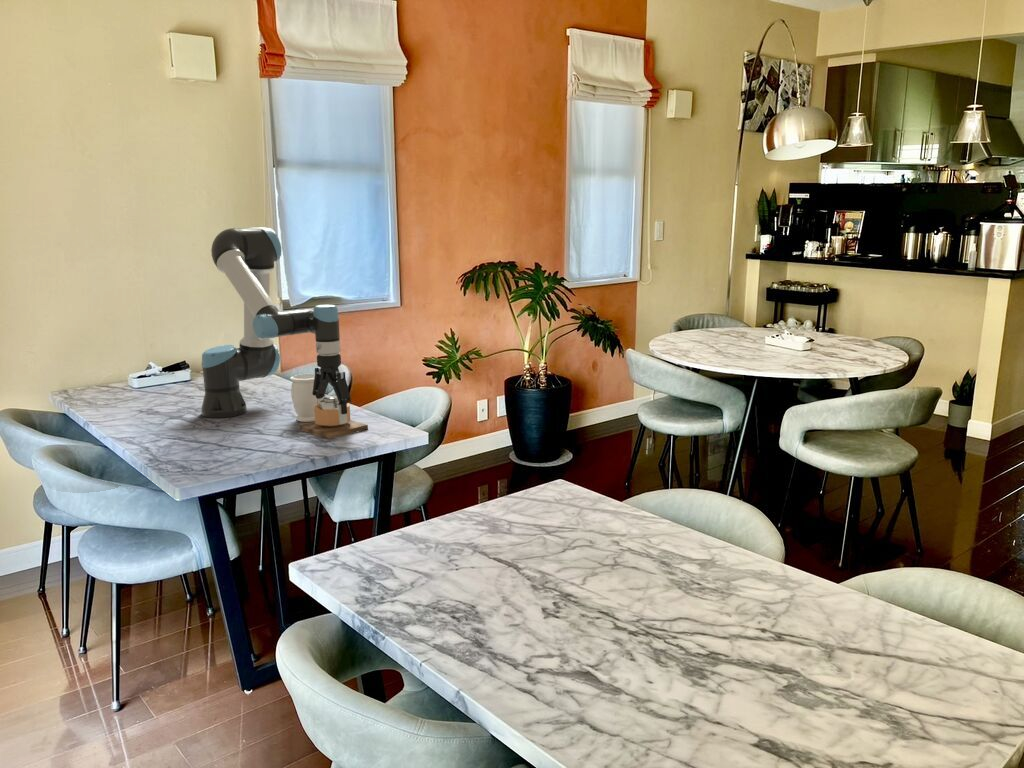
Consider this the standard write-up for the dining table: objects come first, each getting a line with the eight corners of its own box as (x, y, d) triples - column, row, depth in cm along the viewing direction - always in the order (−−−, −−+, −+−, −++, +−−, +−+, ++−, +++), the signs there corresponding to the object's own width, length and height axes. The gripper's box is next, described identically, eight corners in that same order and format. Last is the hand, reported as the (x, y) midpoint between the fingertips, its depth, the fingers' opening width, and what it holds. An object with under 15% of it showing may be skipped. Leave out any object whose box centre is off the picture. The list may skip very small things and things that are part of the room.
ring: (308, 421, 266) (307, 406, 265) (337, 415, 274) (336, 400, 273) (327, 427, 259) (326, 412, 258) (356, 420, 267) (356, 405, 266)
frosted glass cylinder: (317, 425, 267) (316, 398, 265) (336, 421, 272) (334, 394, 270) (330, 429, 262) (328, 401, 260) (348, 424, 267) (346, 397, 265)
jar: (329, 415, 285) (326, 373, 282) (319, 423, 275) (316, 379, 272) (299, 415, 286) (296, 373, 283) (288, 423, 276) (285, 379, 273)
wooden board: (299, 429, 268) (298, 425, 267) (338, 420, 278) (337, 416, 278) (328, 439, 256) (328, 434, 256) (368, 429, 266) (367, 424, 266)
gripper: (298, 351, 267) (303, 416, 272) (339, 359, 251) (343, 429, 256) (318, 348, 272) (322, 412, 277) (360, 356, 256) (363, 424, 261)
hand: (332, 420), depth 266 cm, fingers closed on ring, 11 cm apart
